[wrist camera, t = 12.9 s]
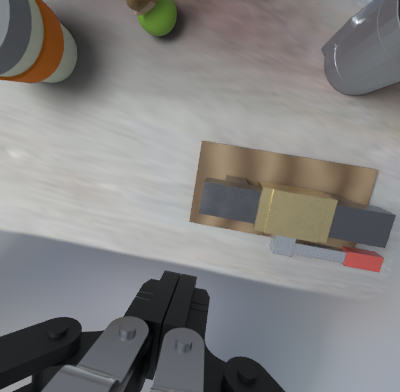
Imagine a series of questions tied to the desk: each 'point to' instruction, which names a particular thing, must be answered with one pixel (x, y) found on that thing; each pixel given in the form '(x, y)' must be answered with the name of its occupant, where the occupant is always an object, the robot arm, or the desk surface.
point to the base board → (278, 179)
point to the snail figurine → (155, 15)
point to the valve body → (295, 211)
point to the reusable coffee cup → (34, 43)
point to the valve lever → (327, 253)
